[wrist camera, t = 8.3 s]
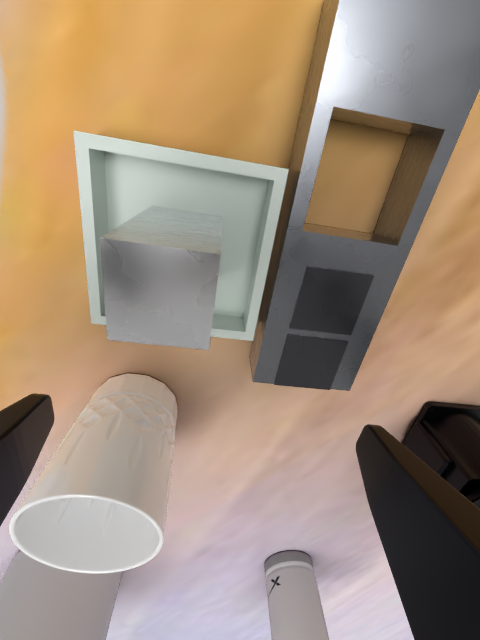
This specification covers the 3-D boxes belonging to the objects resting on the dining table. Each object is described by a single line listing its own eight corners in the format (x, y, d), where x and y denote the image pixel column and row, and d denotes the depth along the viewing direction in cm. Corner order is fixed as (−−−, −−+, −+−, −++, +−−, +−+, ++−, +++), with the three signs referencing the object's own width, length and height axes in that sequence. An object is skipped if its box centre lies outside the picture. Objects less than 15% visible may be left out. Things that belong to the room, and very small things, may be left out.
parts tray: (279, 168, 17) (288, 169, 14) (249, 321, 21) (252, 341, 19) (95, 135, 16) (73, 130, 13) (106, 304, 20) (91, 323, 18)
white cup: (163, 355, 22) (123, 481, 14) (197, 425, 26) (184, 559, 17) (68, 380, 23) (-28, 515, 14) (115, 444, 27) (62, 583, 18)
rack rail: (461, 34, 14) (517, 4, 12) (335, 364, 24) (350, 391, 21) (324, -1, 13) (349, -42, 11) (249, 356, 23) (252, 382, 20)
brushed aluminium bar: (222, 216, 17) (220, 254, 10) (214, 280, 19) (209, 350, 12) (151, 205, 17) (98, 237, 10) (150, 272, 19) (105, 339, 12)
